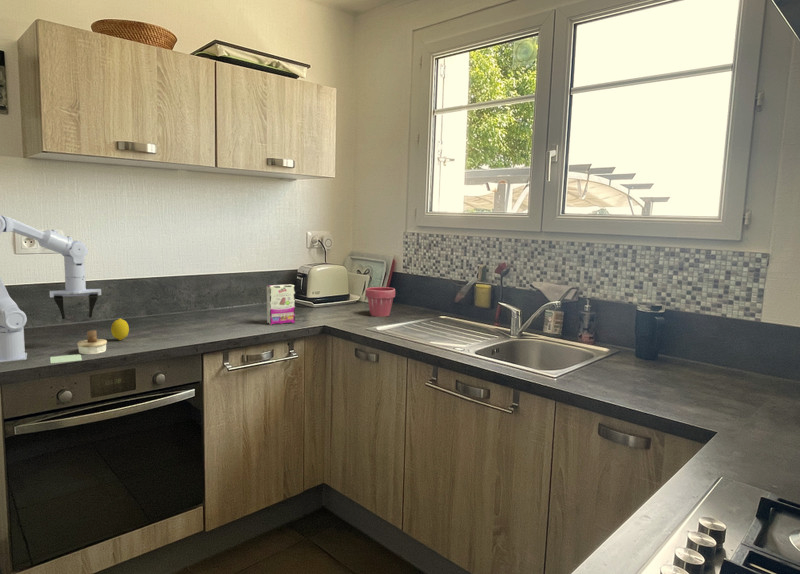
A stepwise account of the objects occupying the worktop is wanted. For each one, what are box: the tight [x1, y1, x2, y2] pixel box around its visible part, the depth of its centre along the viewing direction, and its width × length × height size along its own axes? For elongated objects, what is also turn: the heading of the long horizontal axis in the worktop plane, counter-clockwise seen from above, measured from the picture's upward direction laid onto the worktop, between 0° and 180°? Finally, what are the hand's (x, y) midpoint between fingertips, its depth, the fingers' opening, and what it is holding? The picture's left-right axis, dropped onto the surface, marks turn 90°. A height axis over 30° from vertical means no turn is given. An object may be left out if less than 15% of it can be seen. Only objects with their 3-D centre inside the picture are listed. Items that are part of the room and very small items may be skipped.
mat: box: [49, 353, 83, 364], centre depth 164 cm, size 8×8×1 cm
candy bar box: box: [266, 283, 296, 326], centre depth 228 cm, size 11×5×16 cm, turn 123°
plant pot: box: [365, 286, 396, 318], centre depth 255 cm, size 14×14×13 cm
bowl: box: [78, 344, 107, 355], centre depth 173 cm, size 8×8×3 cm
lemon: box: [110, 318, 130, 341], centre depth 189 cm, size 6×6×8 cm
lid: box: [77, 329, 108, 348], centre depth 172 cm, size 8×8×4 cm
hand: (77, 317), depth 178 cm, fingers open, 7 cm apart
